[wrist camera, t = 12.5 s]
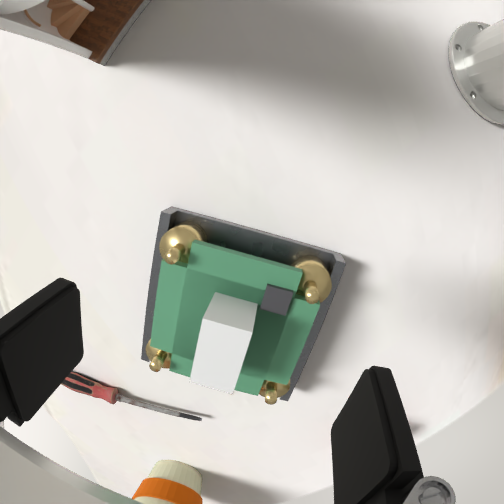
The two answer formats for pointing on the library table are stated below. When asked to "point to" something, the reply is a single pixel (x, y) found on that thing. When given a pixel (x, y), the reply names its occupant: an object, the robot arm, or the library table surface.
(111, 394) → the screwdriver
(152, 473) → the reusable coffee cup
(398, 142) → the library table surface
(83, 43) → the tall white box
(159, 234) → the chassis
